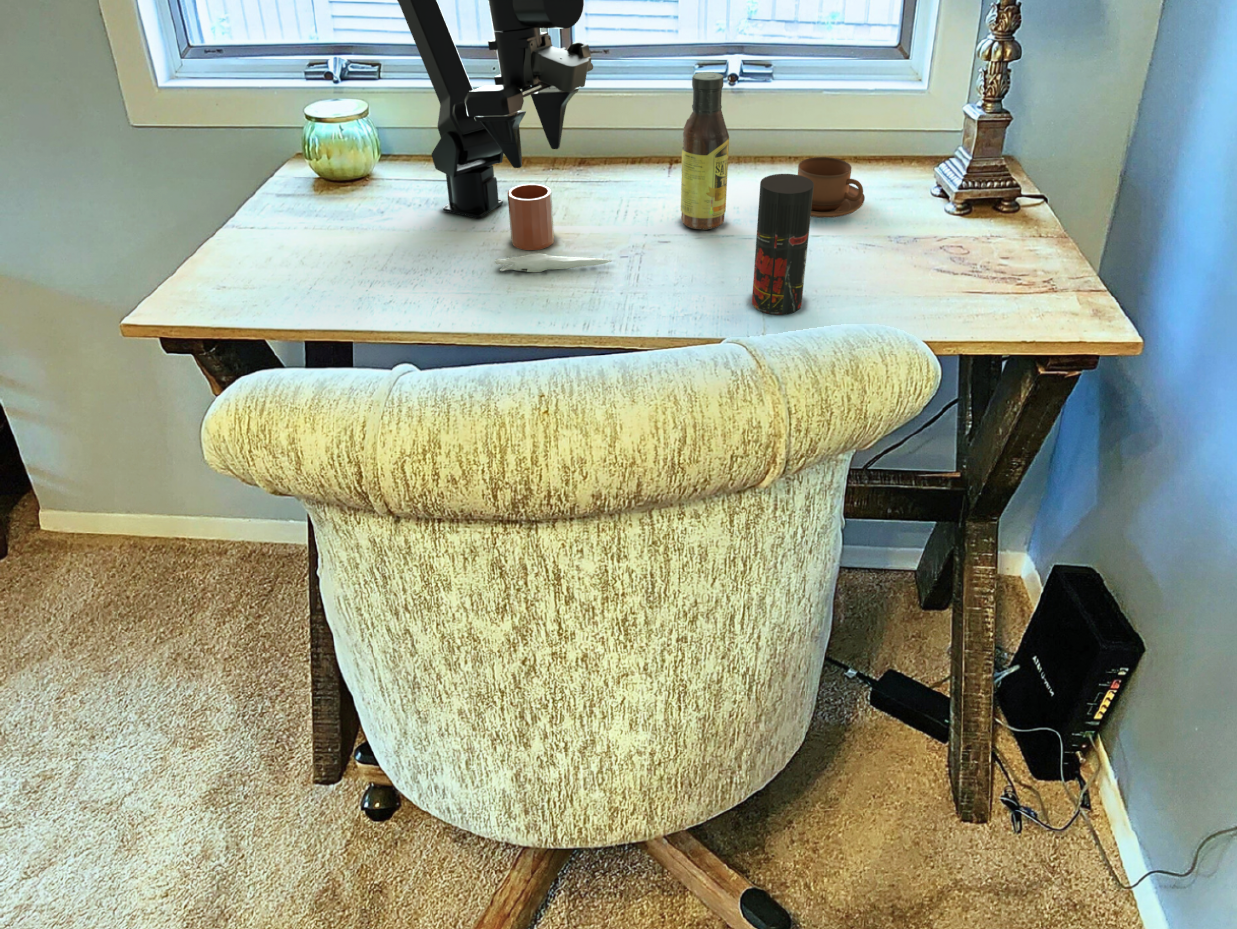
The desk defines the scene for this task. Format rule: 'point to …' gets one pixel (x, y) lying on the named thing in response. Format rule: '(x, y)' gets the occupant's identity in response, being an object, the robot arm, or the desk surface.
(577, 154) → the desk surface
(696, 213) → the sauce bottle
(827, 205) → the cup and saucer
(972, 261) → the desk surface
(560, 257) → the white elongated piece
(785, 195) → the deodorant
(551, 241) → the cup
